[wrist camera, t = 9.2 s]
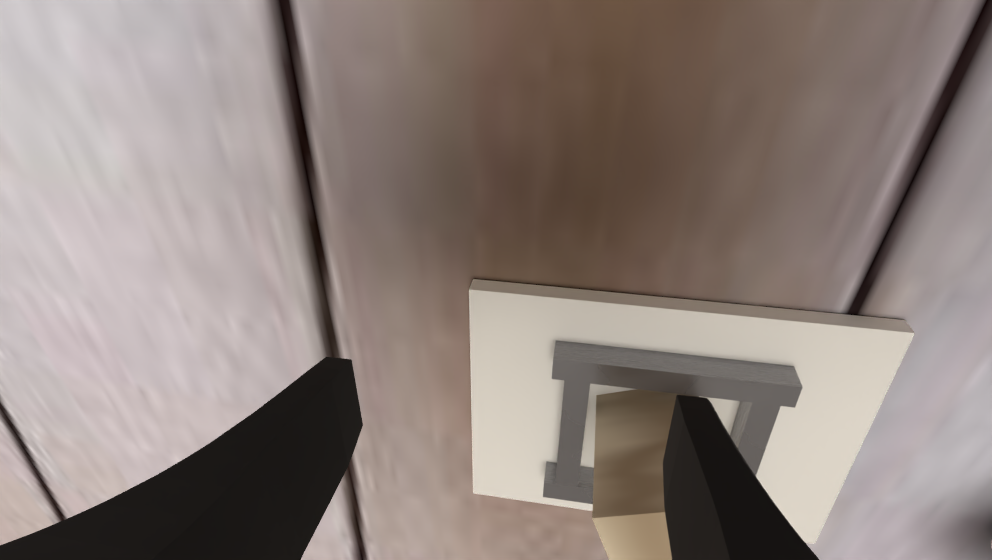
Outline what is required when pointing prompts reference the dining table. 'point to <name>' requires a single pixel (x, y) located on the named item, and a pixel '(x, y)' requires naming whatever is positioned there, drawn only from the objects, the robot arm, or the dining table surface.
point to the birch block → (631, 473)
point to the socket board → (672, 386)
